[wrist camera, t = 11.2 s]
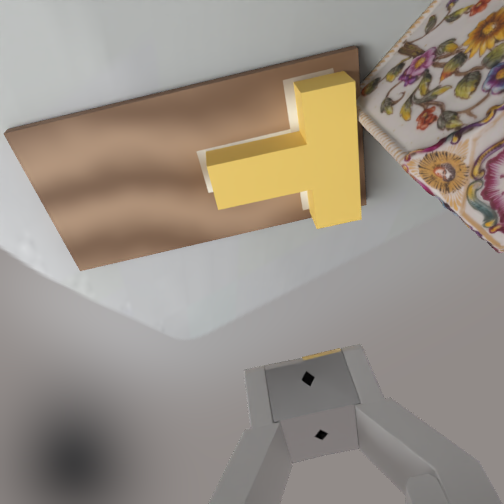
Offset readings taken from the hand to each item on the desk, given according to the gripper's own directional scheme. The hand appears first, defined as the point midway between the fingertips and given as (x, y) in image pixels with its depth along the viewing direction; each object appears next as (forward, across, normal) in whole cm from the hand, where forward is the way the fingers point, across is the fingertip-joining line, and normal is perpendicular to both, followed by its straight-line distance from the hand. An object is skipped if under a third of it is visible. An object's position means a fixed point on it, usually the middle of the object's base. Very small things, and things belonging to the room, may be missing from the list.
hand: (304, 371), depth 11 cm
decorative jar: (+30, -17, +5) cm, 35 cm away
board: (+29, +4, +7) cm, 30 cm away
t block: (+28, -3, +7) cm, 29 cm away
